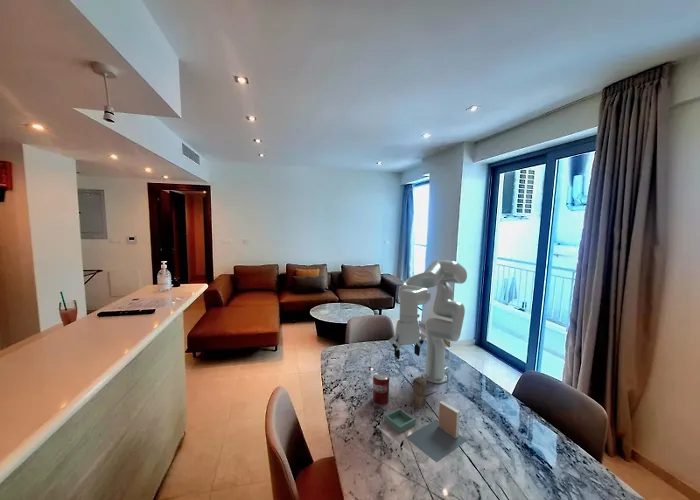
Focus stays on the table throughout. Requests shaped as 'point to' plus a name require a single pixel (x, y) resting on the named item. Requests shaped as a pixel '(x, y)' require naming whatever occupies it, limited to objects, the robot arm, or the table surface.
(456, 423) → the tile
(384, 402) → the soda can
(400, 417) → the holder
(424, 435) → the mat
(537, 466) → the table surface
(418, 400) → the brown wooden block
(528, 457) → the table surface
